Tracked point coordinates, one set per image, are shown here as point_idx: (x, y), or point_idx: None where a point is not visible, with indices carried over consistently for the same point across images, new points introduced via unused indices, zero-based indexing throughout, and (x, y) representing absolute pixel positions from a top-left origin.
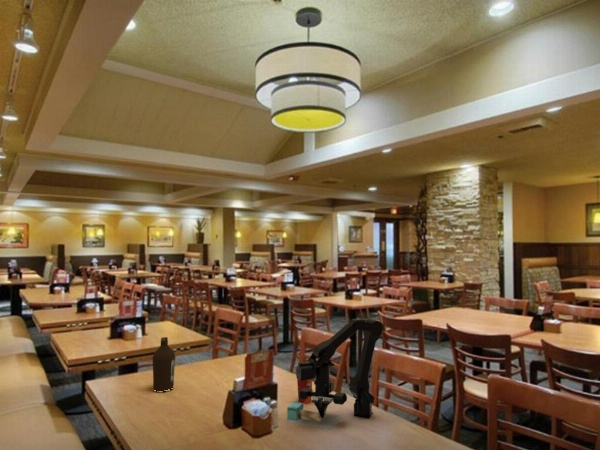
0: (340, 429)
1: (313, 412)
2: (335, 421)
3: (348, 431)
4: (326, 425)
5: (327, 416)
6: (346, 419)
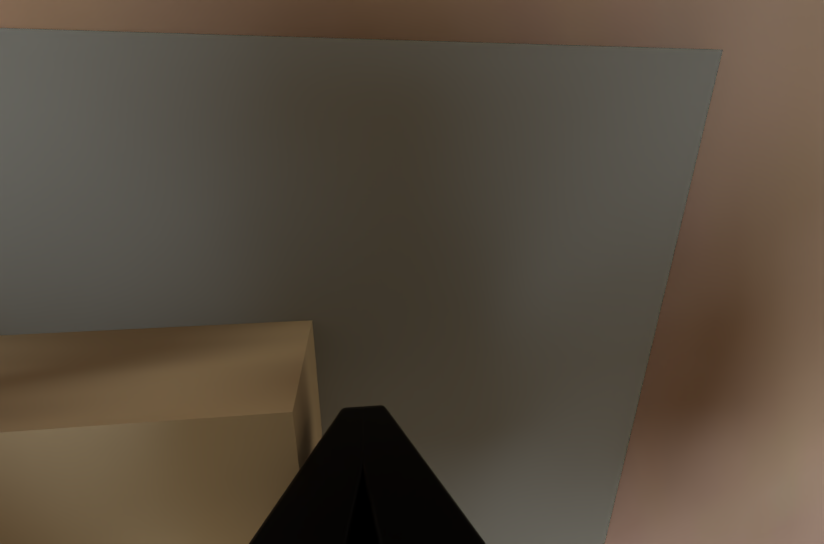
0: (699, 461)
1: (43, 482)
2: (603, 288)
3: (808, 464)
4: (486, 486)
5: (361, 95)
6: (801, 24)
